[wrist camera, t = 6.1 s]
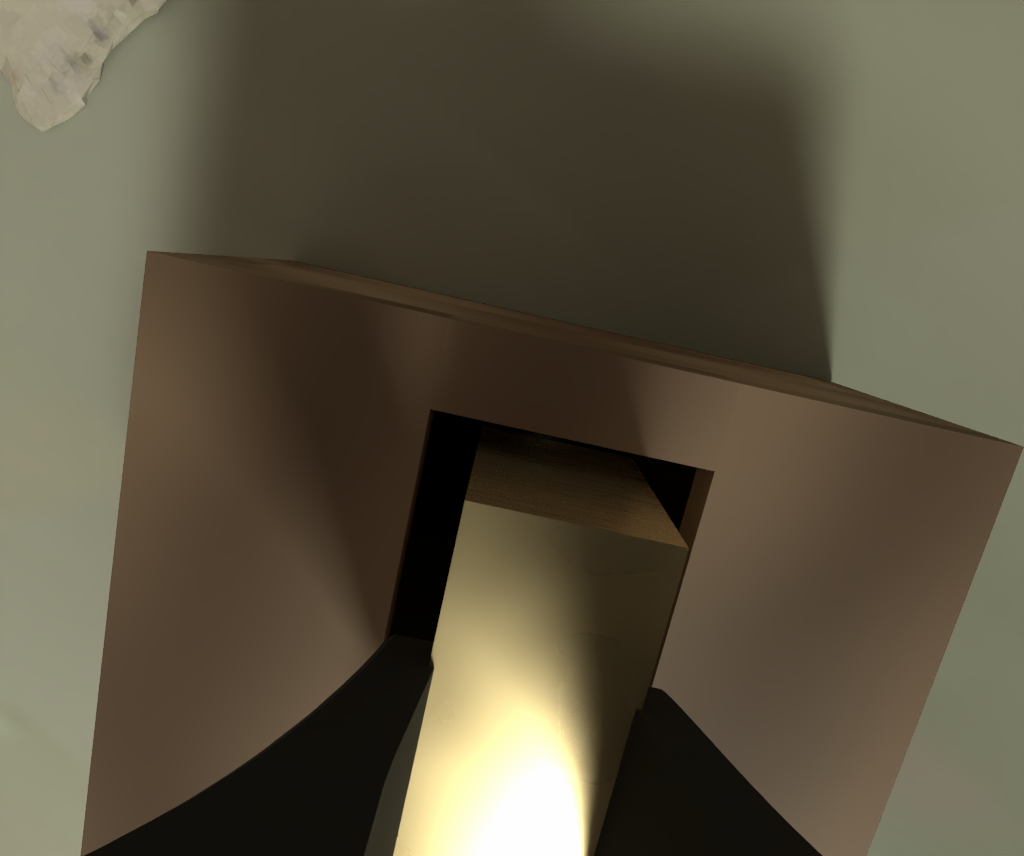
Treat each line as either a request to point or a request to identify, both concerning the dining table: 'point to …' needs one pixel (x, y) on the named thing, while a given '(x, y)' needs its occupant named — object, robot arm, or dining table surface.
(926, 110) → the dining table surface
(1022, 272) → the dining table surface
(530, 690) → the gold metal block
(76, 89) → the arrowhead
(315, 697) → the box
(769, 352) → the dining table surface
